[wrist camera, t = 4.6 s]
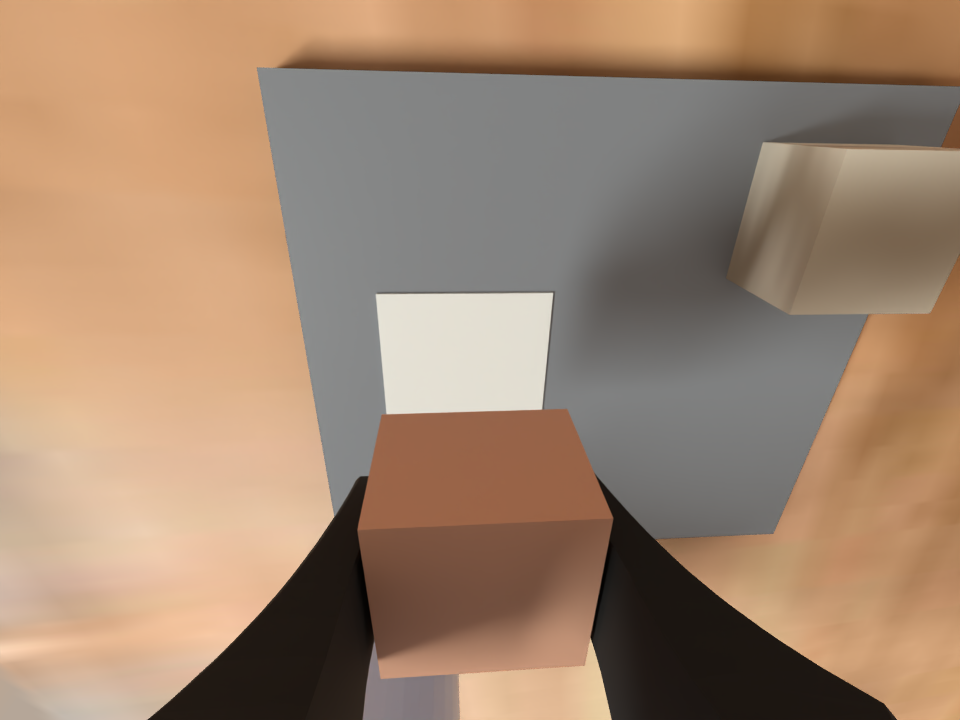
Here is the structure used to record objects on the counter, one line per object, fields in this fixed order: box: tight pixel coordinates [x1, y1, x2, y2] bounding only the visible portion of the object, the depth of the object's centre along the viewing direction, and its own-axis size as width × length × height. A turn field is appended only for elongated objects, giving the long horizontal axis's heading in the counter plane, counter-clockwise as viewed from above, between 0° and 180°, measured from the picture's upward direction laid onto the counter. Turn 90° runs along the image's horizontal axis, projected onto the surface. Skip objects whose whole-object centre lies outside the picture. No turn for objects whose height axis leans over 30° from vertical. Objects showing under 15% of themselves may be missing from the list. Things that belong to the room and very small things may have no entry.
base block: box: [357, 409, 613, 679], centre depth 11 cm, size 5×5×4 cm
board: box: [257, 68, 960, 539], centre depth 19 cm, size 20×22×1 cm
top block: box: [726, 142, 960, 315], centre depth 15 cm, size 5×5×4 cm
